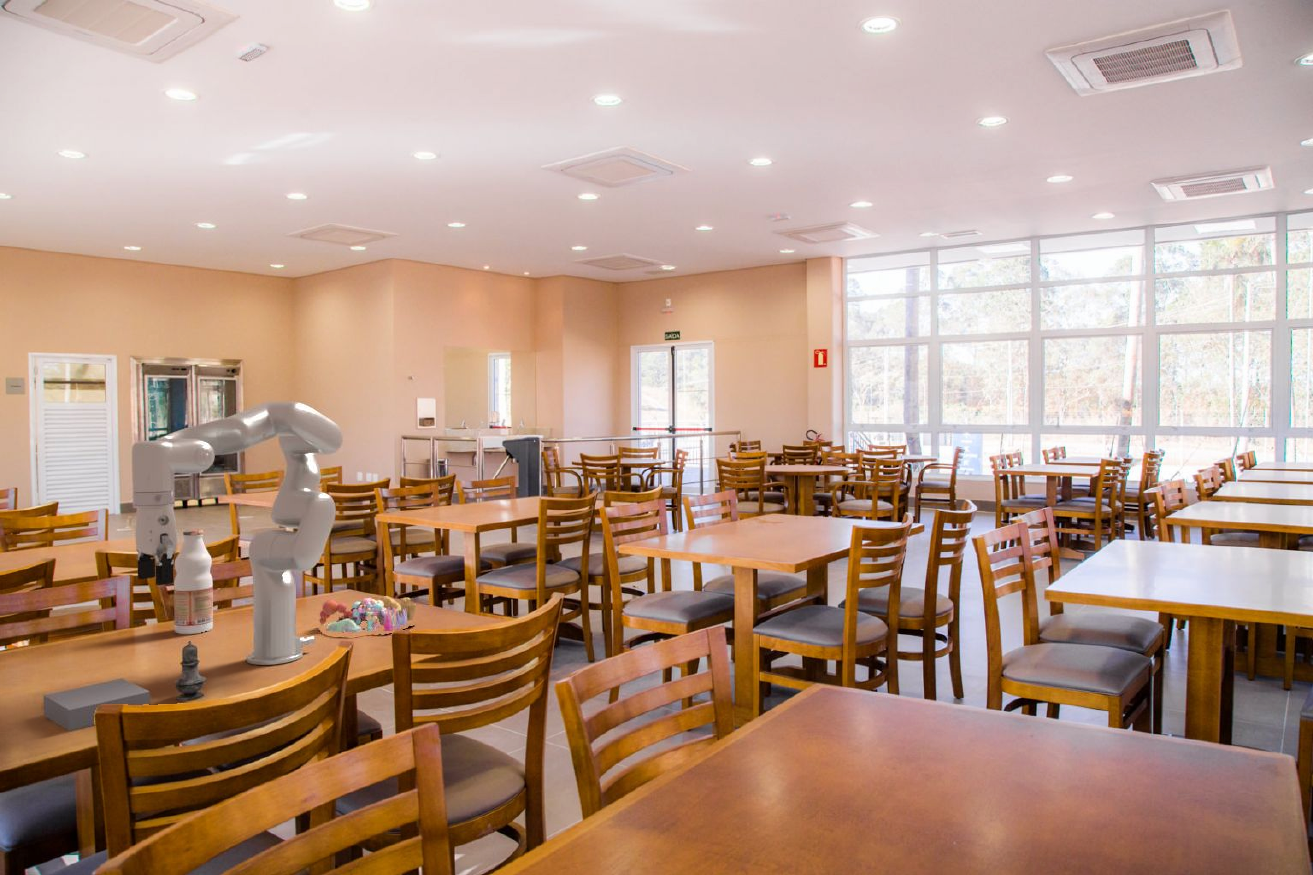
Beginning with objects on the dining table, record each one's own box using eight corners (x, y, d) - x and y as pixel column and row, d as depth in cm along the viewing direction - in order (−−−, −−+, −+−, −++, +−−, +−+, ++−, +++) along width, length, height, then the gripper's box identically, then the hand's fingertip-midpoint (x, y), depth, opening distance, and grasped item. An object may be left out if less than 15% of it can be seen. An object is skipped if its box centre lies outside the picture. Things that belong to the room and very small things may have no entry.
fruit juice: (169, 635, 230) (168, 533, 229) (180, 627, 239) (180, 528, 239) (207, 634, 232) (206, 532, 231) (217, 625, 241) (216, 527, 241)
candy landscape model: (380, 615, 257) (380, 585, 257) (431, 626, 243) (431, 594, 243) (304, 631, 236) (304, 598, 236) (355, 645, 223) (355, 610, 222)
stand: (122, 697, 179) (121, 678, 179) (150, 711, 170) (149, 691, 170) (43, 715, 168) (43, 695, 168) (69, 731, 159) (69, 710, 159)
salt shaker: (191, 702, 176) (191, 644, 176) (167, 700, 177) (167, 643, 177) (212, 693, 182) (211, 637, 181) (188, 691, 183) (188, 636, 183)
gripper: (190, 501, 174) (191, 583, 175) (157, 495, 185) (158, 573, 186) (150, 504, 168) (151, 589, 169) (118, 498, 179) (120, 578, 180)
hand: (155, 581), depth 177 cm, fingers open, 9 cm apart
